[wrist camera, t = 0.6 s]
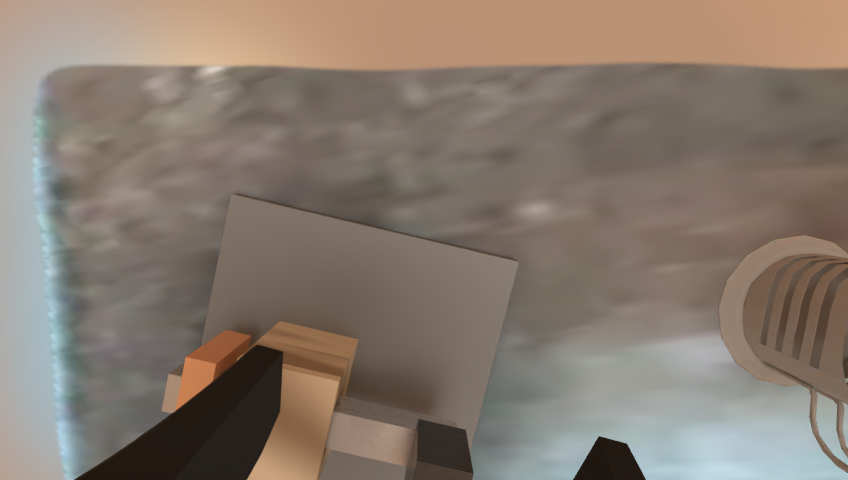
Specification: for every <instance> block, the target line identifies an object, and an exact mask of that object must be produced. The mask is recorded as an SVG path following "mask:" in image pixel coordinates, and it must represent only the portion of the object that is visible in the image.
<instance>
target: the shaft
mask: <svg viewBox="0 0 848 480" xmlns="http://www.w3.org/2000/svg"><path fill="white" fill-rule="evenodd" d="M184 364H185V363H183V364H182V365H180V366H179V367H178V368H176V369H175V370H173V371H172V372H170V373H169V375H168V380H167V385H166V390H165V396H164V401H163V406H162V411H164V412H168V413H173V412H175V409H176V404H177V399H178V394H179V389H180V384H181V379H182V374H183V369H184ZM226 370H227V369H225V370H223V371H222V372H221V373H220V375H221V374H222V373H223V372H225V371H226ZM325 448H326V449H331V450H335V451H340V452H344V453H348V454H353V455H357V456H362V457H366V458H370V459H375V460H379V461H384V462H388V463H392V464H397V465H401V466H406V471H405V479H404V480H472V477H473V469H472V463H471V457H470V451H469V445H468V439H467V434H466V430H465V429H461V428H457V422H454V421H450V420H446V419H441V418H437V417H433V416H428V415H424V414H419V413H415V412H411V411H406V410H402V409H398V408H393V407H389V406H385V405H380V404H376V403H372V402H367V401H363V400H358V399H354V398H350V397H345V396H341V395H339V398H338V400H337V402H336V405H335V407H334V411H333V415H332V420H331V424H330V429H329V433H328V437H327V442H326V446H325Z"/></svg>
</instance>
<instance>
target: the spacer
mask: <svg viewBox="0 0 848 480" xmlns="http://www.w3.org/2000/svg"><path fill="white" fill-rule="evenodd" d="M250 338H251V336H250V335H246V334H241V333H237V332H233V331H228V330H225V331H223V332H222V333H220V334H219V335H217V336H216V337H215V338H213V339H212V340H210V341H209V342H207V343H206V344H204V345H203V346H201V347H200V348H198V349H197V350H195V351H194V352H192V353H191V354H189V355H188V356H187V357H186V359H185V364H184V369H183V374H182V379H181V384H180V389H179V394H178V399H177V404H176V409H175V411H176V410H177V409H178V408H180V407H181V406H182V405H184V404H185V403H186V402H187V401H189V400H190V399H191V398H193V397H194V396H195V395H196V394H198V393H199V392H200V391H201V390H203V389H204V388H205V387H206V386H208V385H209V384H210V383H211V382H213V381H214V380H215V379H216V378H217V377H219V376H220V373H221V372H222V371H223V370H225V369H228V368H229V367H230V366H232V365H233V364H234V363H235V362H236V361H237V358H238V357H239V356H240V355H242V354H243V353H244V352H245V351H246V350H247V349H248V348H249V343H250Z"/></svg>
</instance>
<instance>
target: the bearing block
mask: <svg viewBox="0 0 848 480" xmlns="http://www.w3.org/2000/svg"><path fill="white" fill-rule="evenodd" d="M358 340H359V339H356V338H351V337H347V336H343V335H338V334H334V333H330V332H325V331H321V330H317V329H312V328H308V327H304V326H300V325H295V324H291V323H287V322H282V321H280V322H278V323H277V324H276V325H275V326H274V327H273V328H271V329H270V330H269V331H268V332H267V333H266V334H265V335H263V336H262V337H261V338H260V339H259V340H258V341H257V342H255V343H254V344H253V345H252V346H251V347H250V348H249V349H247V350H246V351H245V352H244V353H243V354H242V355H240V356H239V357H238V358H237V360H239V359H240V358H241V357H242V356H243V355H244V354H245V353H247V352H248V351H249V350H250V349H251V348H252V347H254V346H256V345H261V346H265V347H269V348H272V349H276V350H280V351H283V367H282V387H281V406H280V413H279V415H278V417H277V420H276V422H275V424H274V427H273V429H272V431H271V434H270V436H269V438H268V441H267V443H266V445H265V447H264V449H263V452H262V454H261V456H260V457H259V459H258V461H257V463H256V465H255V466H254V468H253V470H252V472H251V473H250V475H249V477H248V479H247V480H319V479H320V476H321V474H322V471H323V468H324V466H325V463H326V460H327V457H328V455H329V452H330V449H326V448H325V446H326V442H327V437H328V433H329V429H330V424H331V420H332V415H333V411H334V407H335V405H336V402H337V400H338V398H339V395H341V396H345V397H346V392H347V388H348V384H349V379H350V375H351V371H352V366H353V362H354V357H355V353H356V349H357V344H358Z"/></svg>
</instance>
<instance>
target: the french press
mask: <svg viewBox="0 0 848 480" xmlns="http://www.w3.org/2000/svg"><path fill="white" fill-rule="evenodd" d="M719 318H720V328H721V337H722V339H723V341H724V343H725V345H726V346H727V348H728V350H729V352H730V353H731V355H732V357H733V359H734V361H735V362H736V363H737V364H739V365H740V366H741V367H743V368H744V369H745V370H747V371H748V372H749V373H751V374H752V375H753V376H755V377H756V378H757V379H759V380H763V381H768V382H772V383H776V384H780V385H784V386H791V385H798V384H800V385H802V386H804V387H806V388H808V389H809V390H810V394H811V403H810V416H809V417H810V422H811V426H812V431H813V434H814V436H815V438H816V440H817V441H818V443H819V445H820V447H821V449H822V450H823V452H824V453H825V454H826V455H827V456H828V457H829V458H830V459H831V460H832V461H833V462H834V463H835V465H836V466H838V467H839V468H841V469H842V470H844V471H845V472H847V473H848V465H846V464H845V463H843V462H842V461H841V460H839V459H838V458H837V457H835V456H834V455H833V454H832V452H831V451H830V450H829V448H828V447H827V445H826V444H825V443H824V441H823V440H822V439H821V437H820V436H819V431H818V427H817V422H816V408H817V393H816V392H818V393H820V394H822V395H824V396H826V397H828V398H830V399H832V400H834V402H835V403H836V404H837V427H836V430H837V434H838V438H839V442H840V446H841V449H842V450H843V452H844V453H845V454H846V456H847V457H848V448H847V447H846V443H845V439H844V434H843V416H844V406H843V404H842V402H844V403H846V404H848V383H846V382H845V378H848V253H846V252H845V251H844V250H843V249H841V248H840V247H839V246H837V245H836V244H835V243H834V242H830V241H826V240H822V239H818V238H814V237H810V236H806V235H801V236H795V237H788V238H781V239H775V240H772V241H771V242H769V243H767V244H765V245H764V246H762V247H760V248H758V249H757V250H755V251H753V252H751V253H750V254H748V255H747V256H746V257H745V258H744V259H743V260H742V262H741V263H740V264H739V265H738V267H737V268H736V269H735V270H734V272H733V273H732V274H731V275H730V277H729V278H728V279H727V282H726V285H725V289H724V292H723V295H722V298H721V302H720V305H719Z"/></svg>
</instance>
